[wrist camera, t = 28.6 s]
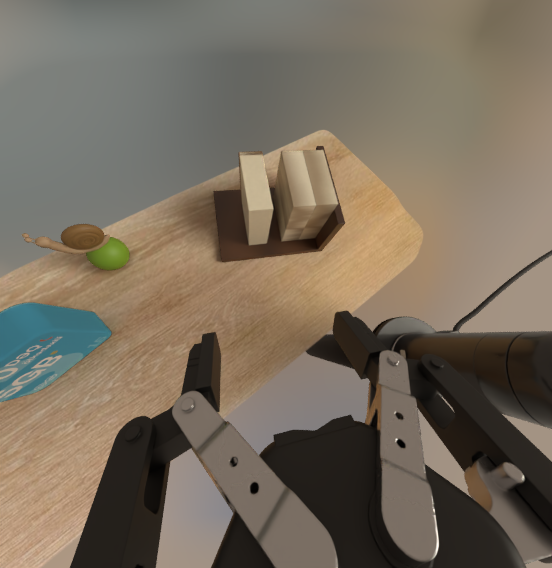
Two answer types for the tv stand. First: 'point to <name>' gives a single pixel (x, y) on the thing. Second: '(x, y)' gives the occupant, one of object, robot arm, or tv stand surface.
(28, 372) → the data package
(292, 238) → the book rack
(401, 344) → the robot arm
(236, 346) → the tv stand surface
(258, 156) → the cream book
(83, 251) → the snail figurine
